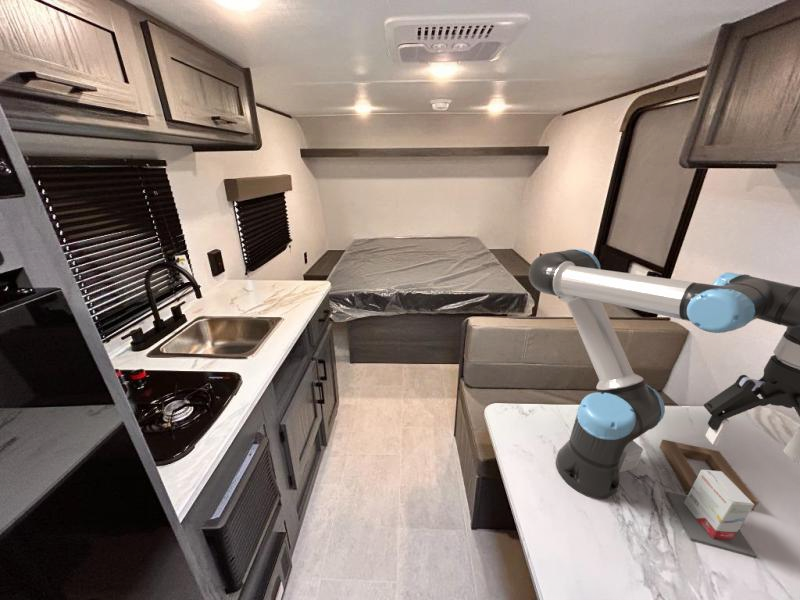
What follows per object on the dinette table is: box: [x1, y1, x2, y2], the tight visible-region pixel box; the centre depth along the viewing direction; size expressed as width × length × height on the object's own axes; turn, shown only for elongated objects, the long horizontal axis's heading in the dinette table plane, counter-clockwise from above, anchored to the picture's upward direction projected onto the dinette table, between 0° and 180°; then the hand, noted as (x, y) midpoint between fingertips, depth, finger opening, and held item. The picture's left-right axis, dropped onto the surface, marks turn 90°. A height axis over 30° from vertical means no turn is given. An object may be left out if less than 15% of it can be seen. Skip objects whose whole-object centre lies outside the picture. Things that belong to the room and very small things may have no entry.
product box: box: [618, 440, 644, 473], centre depth 90 cm, size 6×6×7 cm
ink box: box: [684, 469, 754, 539], centre depth 73 cm, size 9×5×12 cm, turn 176°
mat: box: [665, 490, 758, 558], centre depth 76 cm, size 12×12×1 cm
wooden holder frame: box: [659, 439, 760, 511], centre depth 87 cm, size 14×16×3 cm
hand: (749, 448), depth 67 cm, fingers open, 13 cm apart
